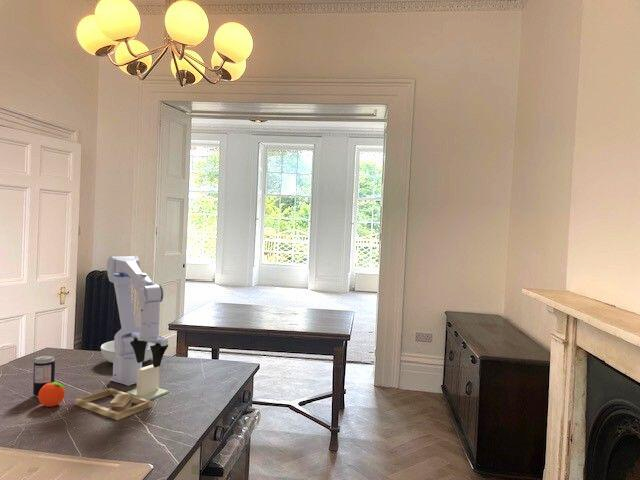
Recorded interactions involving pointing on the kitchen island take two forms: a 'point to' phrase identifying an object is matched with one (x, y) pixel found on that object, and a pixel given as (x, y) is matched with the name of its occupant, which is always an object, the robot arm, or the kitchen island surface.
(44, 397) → the clementine
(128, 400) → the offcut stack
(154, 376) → the cream rectangular block
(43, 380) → the beverage can
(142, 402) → the wooden rectangular frame
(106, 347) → the serving bowl
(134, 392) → the sage mat
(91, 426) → the kitchen island surface
